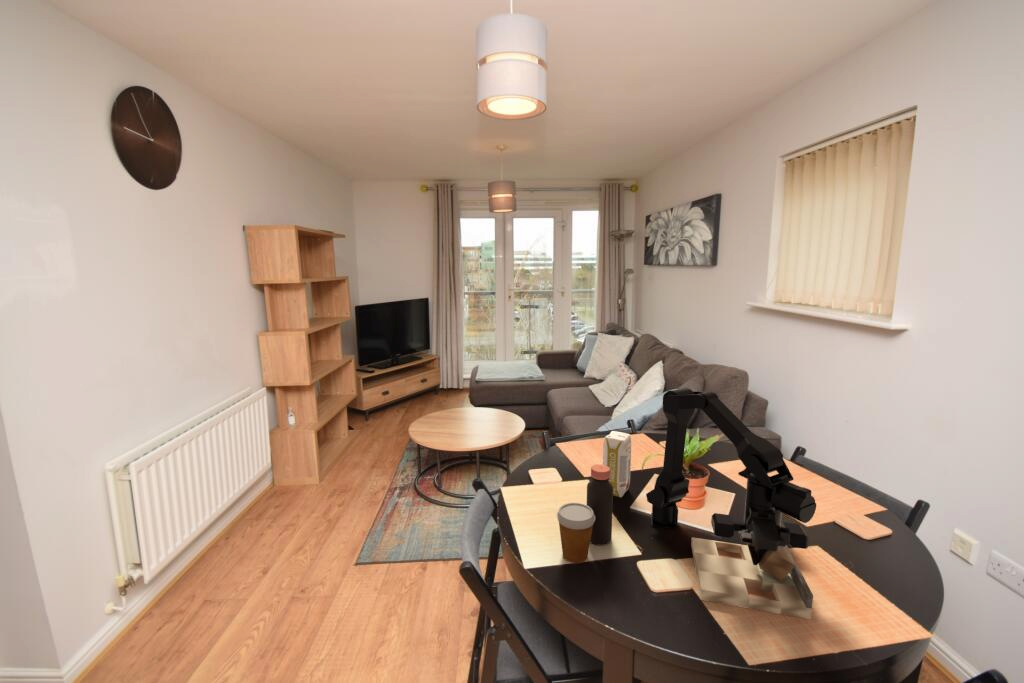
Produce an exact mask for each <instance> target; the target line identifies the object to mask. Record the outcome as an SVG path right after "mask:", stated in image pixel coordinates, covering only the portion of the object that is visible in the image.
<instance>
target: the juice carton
mask: <svg viewBox="0 0 1024 683" xmlns="http://www.w3.org/2000/svg"><path fill="white" fill-rule="evenodd" d="M631 436H632V435H631V434H630V433H627V432H622V431H616V430H611V432H610V433H609V434H607V435H605V436H604V439H603V445H602V446H603V449H602V465H606V466H608V467H609V468H610V479H609V482H610V483H611V484H612V486H613V497H618V498H622V497H623V496H624V495H625V493H626V492H627V491H628V490H629V488H630V483H631V466H632V465H631V464H632V463H631V461H632V438H631Z"/></svg>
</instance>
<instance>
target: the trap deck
mask: <svg viewBox="0 0 1024 683" xmlns="http://www.w3.org/2000/svg"><path fill="white" fill-rule="evenodd" d="M788 546H789V545H786V546H785V547H784V546H780V547H781V548H783V549H785V550H786V551H788V552H789V553H790V555H791V557H792V560H793V562H794V564H795V566H794V568H793V569H792V570H791V571H790V572H789V574H788V575H787V576H786V577H785V578H784V579H783V581H782V582H781V581H780V580H778V579H776V578H775V577H773V576H771V575H770V574H768V573H767V572H765V571H763V570H762V569H760V567H759V564H757V565H753V563H752V559H751V555H750V552H749V548H748V545H747V544H739V543H733V542H726V541H718V540H712V539H705V538H698V537H691V545H690V547H691V553H692V559H693V565H694V570H695V575H696V581H697V587H698V592H699V598H700V601H706V602H712V603H716V604H717V603H718V604H723V605H728V606H733V607H734V606H735V607H739V608H745V609H751V610H754V611H755V610H756V611H760V612H761V611H762V612H766V613H767V612H768V613H773V614H777V615H778V614H779V615H782V616H783V615H784V616H789V617H793V618H799V619H805V620H806V619H807V620H811V619H812V618H811V617H812V610H813V601H814V600H813V599H814V594H813V592H812V591H811V589H810V586H809V585H808V583H807V581H806V578H805V577H804V575H803V573H802V571H801V570H800V567H799V566H798V564H797V561H795V558H794V556H793V554H792V552H791V550H790V549H789V547H788Z"/></svg>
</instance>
